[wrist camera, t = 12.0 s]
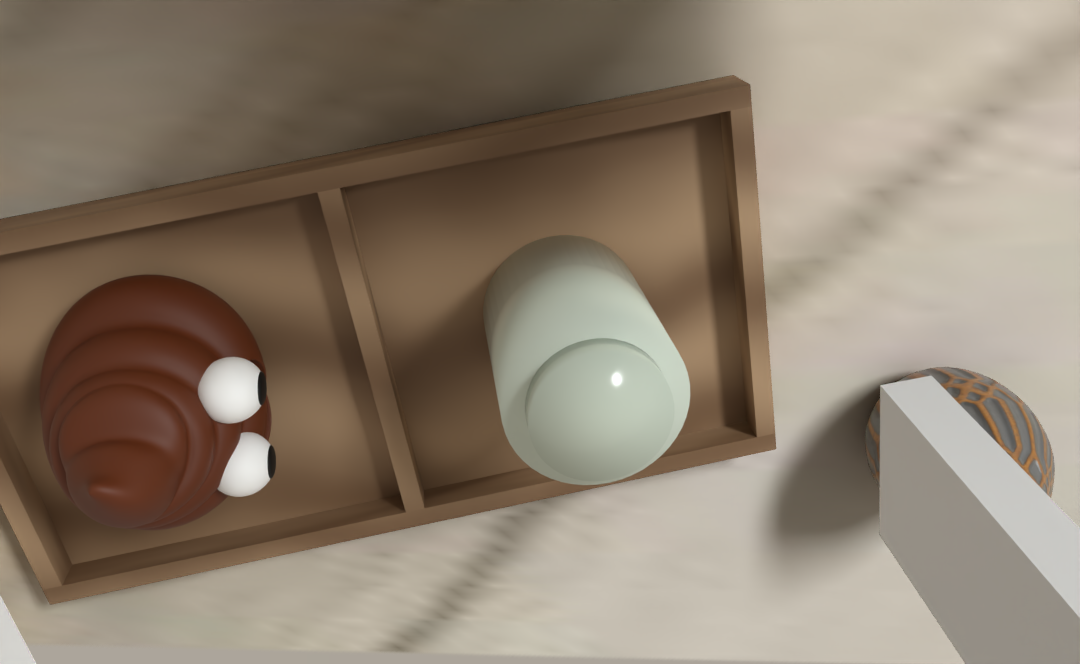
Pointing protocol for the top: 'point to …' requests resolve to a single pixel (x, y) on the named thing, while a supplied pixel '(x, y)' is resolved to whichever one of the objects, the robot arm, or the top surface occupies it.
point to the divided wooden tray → (398, 318)
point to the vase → (984, 422)
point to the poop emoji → (154, 404)
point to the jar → (581, 363)
